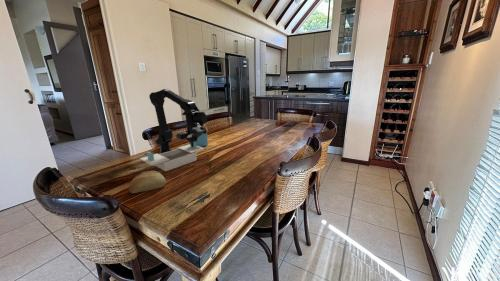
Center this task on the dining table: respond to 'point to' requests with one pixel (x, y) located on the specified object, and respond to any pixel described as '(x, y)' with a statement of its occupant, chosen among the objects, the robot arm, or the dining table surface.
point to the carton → (176, 159)
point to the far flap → (191, 148)
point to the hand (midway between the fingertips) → (193, 146)
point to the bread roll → (147, 181)
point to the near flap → (154, 158)
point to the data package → (202, 140)
